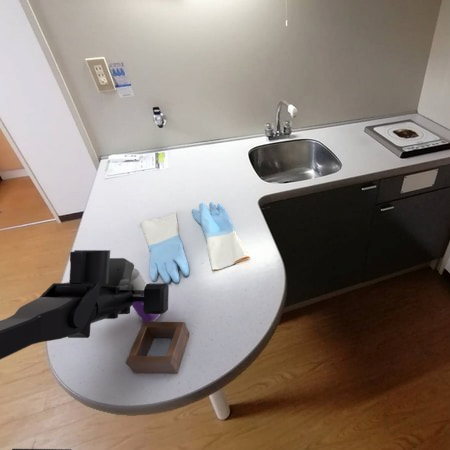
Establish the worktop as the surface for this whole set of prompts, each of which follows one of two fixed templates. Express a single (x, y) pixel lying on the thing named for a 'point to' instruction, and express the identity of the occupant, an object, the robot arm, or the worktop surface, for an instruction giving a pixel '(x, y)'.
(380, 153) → the worktop surface
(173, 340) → the frame
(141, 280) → the container
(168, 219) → the rubber gloves
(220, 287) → the worktop surface
